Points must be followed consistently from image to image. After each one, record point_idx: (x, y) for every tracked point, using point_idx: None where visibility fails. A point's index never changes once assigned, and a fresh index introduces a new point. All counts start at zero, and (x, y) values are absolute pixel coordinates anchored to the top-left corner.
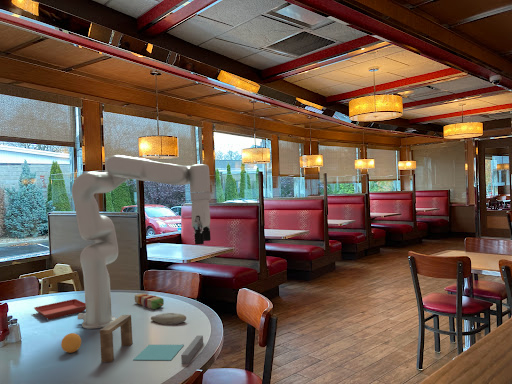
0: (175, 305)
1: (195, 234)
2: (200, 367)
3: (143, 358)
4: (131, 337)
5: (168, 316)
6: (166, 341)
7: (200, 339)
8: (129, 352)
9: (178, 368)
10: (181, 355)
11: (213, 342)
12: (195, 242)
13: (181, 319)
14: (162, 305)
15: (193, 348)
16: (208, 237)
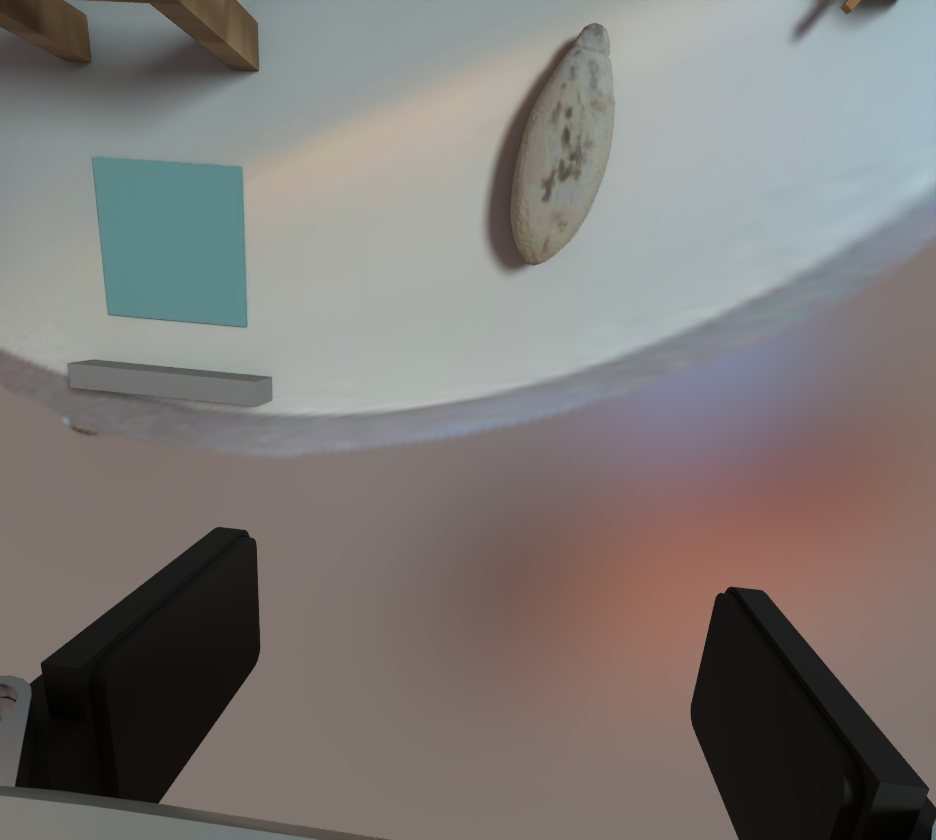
0: (919, 89)
1: (70, 668)
2: (76, 427)
3: (106, 198)
4: (233, 56)
5: (531, 157)
6: (287, 236)
7: (224, 402)
8: (163, 103)
9: (58, 357)
10: (68, 364)
11: (280, 437)
12: (202, 547)
13: (515, 242)
14: (842, 9)
15: (135, 393)
16: (713, 749)
